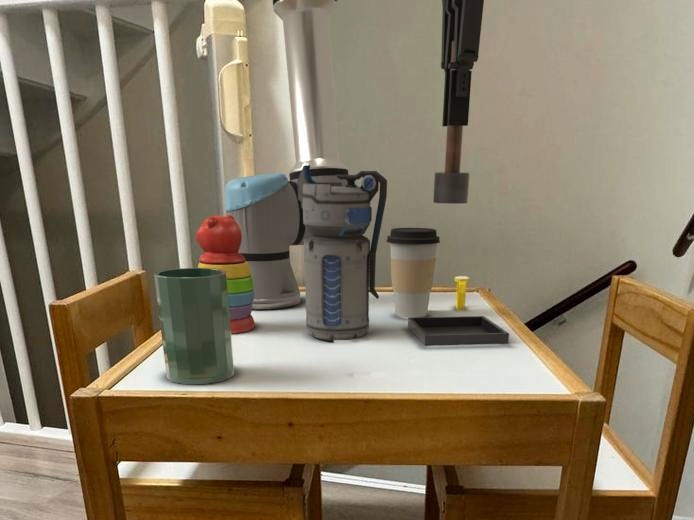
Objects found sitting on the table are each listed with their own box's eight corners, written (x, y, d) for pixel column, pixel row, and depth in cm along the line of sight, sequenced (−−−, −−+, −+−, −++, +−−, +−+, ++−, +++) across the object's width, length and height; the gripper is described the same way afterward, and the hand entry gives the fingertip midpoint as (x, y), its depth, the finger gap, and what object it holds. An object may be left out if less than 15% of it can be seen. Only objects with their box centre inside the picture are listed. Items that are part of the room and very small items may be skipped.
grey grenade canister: (379, 345, 103) (383, 166, 92) (296, 341, 105) (289, 165, 94) (386, 330, 112) (390, 165, 101) (309, 327, 114) (305, 165, 103)
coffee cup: (443, 320, 119) (448, 231, 113) (392, 322, 117) (395, 232, 111) (426, 310, 128) (430, 226, 121) (379, 312, 126) (380, 227, 119)
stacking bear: (225, 318, 120) (216, 211, 112) (270, 325, 115) (264, 214, 107) (181, 330, 111) (169, 215, 103) (228, 337, 107) (218, 218, 99)
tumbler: (171, 367, 91) (159, 268, 86) (235, 365, 92) (227, 267, 87) (163, 385, 83) (149, 278, 78) (232, 383, 85) (224, 277, 79)
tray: (407, 329, 113) (408, 317, 112) (482, 327, 115) (483, 315, 114) (424, 348, 101) (425, 335, 100) (508, 346, 103) (509, 333, 102)
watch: (452, 305, 132) (454, 274, 129) (466, 306, 132) (468, 274, 129) (453, 311, 127) (455, 279, 124) (468, 312, 126) (470, 279, 124)
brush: (429, 201, 100) (437, 43, 91) (462, 201, 101) (472, 44, 92) (438, 203, 95) (447, 37, 87) (471, 203, 96) (484, 38, 87)
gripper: (424, -71, 90) (416, 127, 100) (455, -112, 76) (442, 122, 86) (478, -67, 91) (465, 128, 101) (518, -107, 77) (498, 123, 87)
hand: (454, 125), depth 94 cm, fingers closed on brush, 2 cm apart
